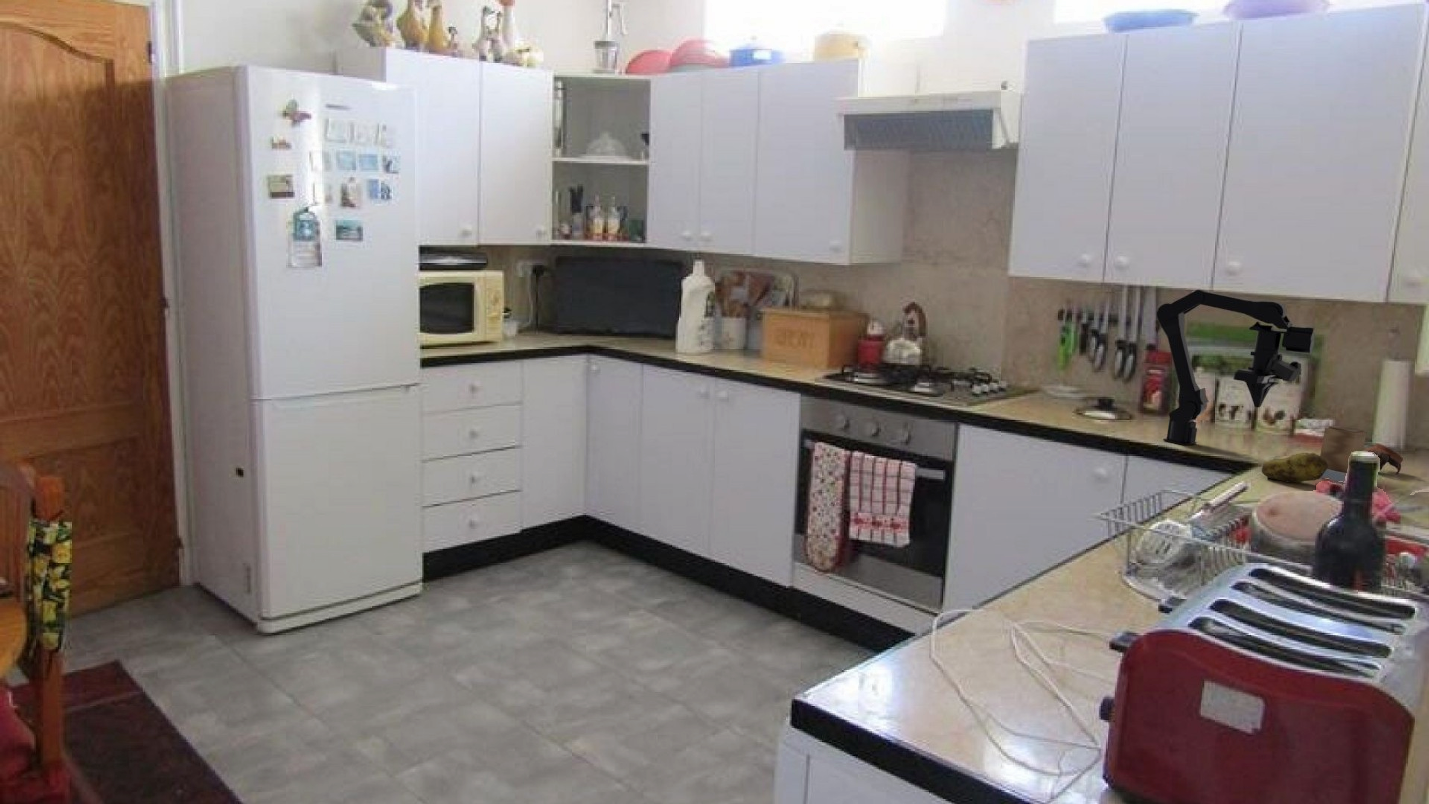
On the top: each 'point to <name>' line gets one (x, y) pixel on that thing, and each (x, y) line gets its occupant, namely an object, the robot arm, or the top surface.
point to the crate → (1341, 446)
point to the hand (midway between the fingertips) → (1257, 407)
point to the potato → (1296, 468)
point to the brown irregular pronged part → (1386, 456)
